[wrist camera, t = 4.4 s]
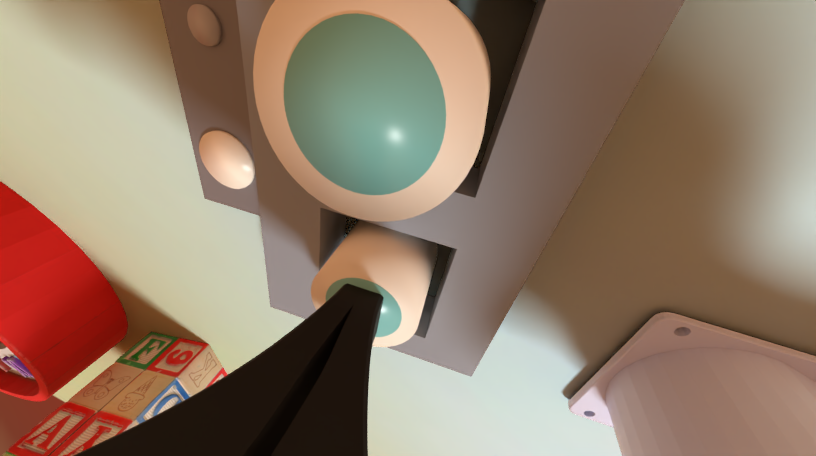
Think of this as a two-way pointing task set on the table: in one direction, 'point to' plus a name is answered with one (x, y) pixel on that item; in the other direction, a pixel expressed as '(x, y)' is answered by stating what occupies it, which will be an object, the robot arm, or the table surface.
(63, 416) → the stack of blocks
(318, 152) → the button
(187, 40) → the pattern tile
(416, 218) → the button board
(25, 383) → the toy clock
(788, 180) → the table surface
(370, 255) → the button
